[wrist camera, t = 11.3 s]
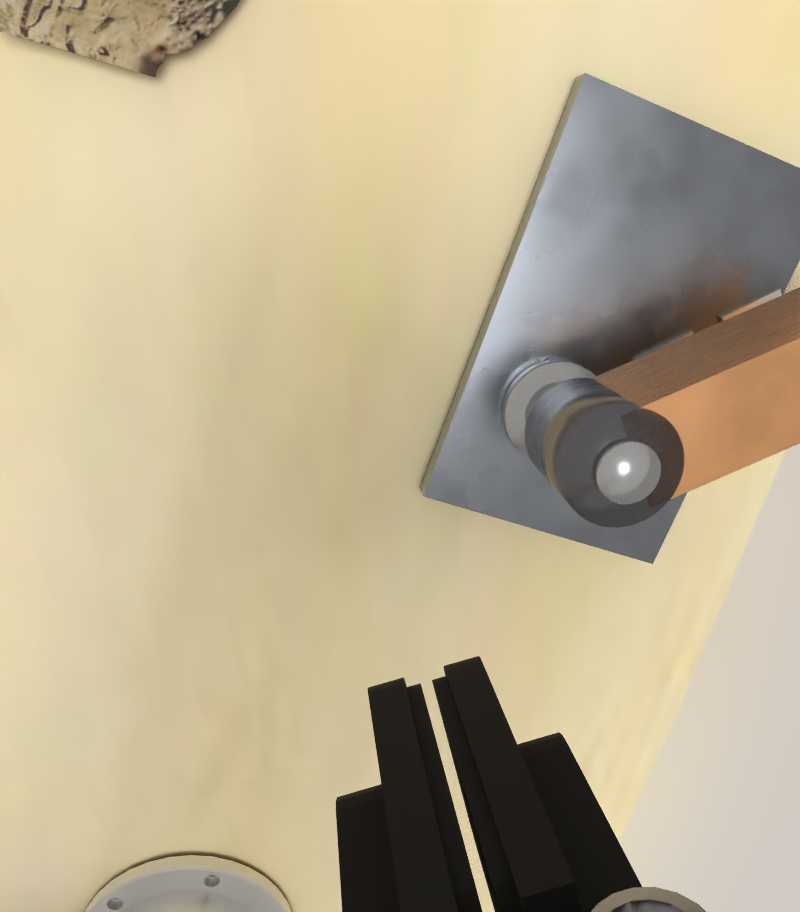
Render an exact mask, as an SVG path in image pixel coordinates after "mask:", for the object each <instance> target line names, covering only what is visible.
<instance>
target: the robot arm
mask: <svg viewBox="0 0 800 912" xmlns="http://www.w3.org/2000/svg"><path fill="white" fill-rule="evenodd" d="M444 671H445V675H446V676H445V677H441V678H438V679H434V680H432V682H433V686H434V689H435V693H436V697H437V701H438V704H439V708H440V712H441V716H442V720H443V723H444V727H445V731H446V735H447V738H448V742H449V746H450V750H451V753H452V757H453V761H454V765H455V769H456V772H457V776H458V780H459V784H460V787H461V791H462V795H463V799H464V802H465V806H466V810H467V814H468V818H469V821H470V825H471V829H472V832H473V836H474V840H475V843H476V847H477V850H478V854H479V857H480V861H481V864H482V868H483V871H484V875H485V878H486V882H487V885H488V889H489V892H490V896H491V899H492V903H493V906H494V910H495V912H706V911H705V910H704V909H703V908H702V907H701V906H700V905H698V904H697V903H695V902H693V901H692V900H690V899H688V898H686V897H684V896H682V895H680V894H679V893H676V892H672V891H669V890H664V889H660V888H656V887H642V886H641V884H640V882H639V880H638V878H637V876H636V874H635V872H634V870H633V869H632V867H631V865H630V863H629V861H628V859H627V857H626V855H625V853H624V852H623V849H622V848H621V846H620V844H619V842H618V840H617V838H616V836H615V834H614V832H613V830H612V828H611V826H610V824H609V823H608V821H607V819H606V817H605V815H604V813H603V811H602V809H601V807H600V805H599V803H598V801H597V800H596V798H595V796H594V794H593V792H592V790H591V788H590V786H589V784H588V782H587V780H586V778H585V777H584V775H583V773H582V771H581V769H580V767H579V765H578V763H577V761H576V759H575V757H574V755H573V754H572V752H571V750H570V748H569V746H568V744H567V742H566V740H565V739H564V737H563V735H562V734H560V733H555V734H552V735H548V736H545V737H542V738H538V739H535V740H531V741H528V742H525V743H521V744H518V745H517V743H516V741H515V738H514V736H513V734H512V731H511V729H510V727H509V724H508V722H507V720H506V717H505V715H504V712H503V710H502V708H501V705H500V703H499V701H498V698H497V696H496V694H495V691H494V689H493V686H492V684H491V682H490V679H489V677H488V675H487V672H486V670H485V668H484V665H483V663H482V660H481V658H480V657H479V656H477V657H474V658H470V659H467V660H463V661H460V662H456V663H453V664H449V665H446V666H444ZM368 695H369V702H370V709H371V716H372V722H373V729H374V736H375V743H376V749H377V756H378V763H379V770H380V776H381V783H382V784H381V785H378V786H374V787H371V788H367V789H364V790H361V791H357V792H354V793H350V794H347V795H344V796H340V797H337V800H336V817H337V833H338V849H339V865H340V881H341V897H342V912H482V909H481V905H480V901H479V898H478V894H477V890H476V886H475V883H474V879H473V875H472V872H471V868H470V864H469V860H468V857H467V853H466V849H465V845H464V842H463V838H462V834H461V831H460V827H459V823H458V820H457V816H456V812H455V809H454V805H453V801H452V798H451V794H450V790H449V786H448V783H447V779H446V775H445V772H444V768H443V764H442V761H441V757H440V753H439V750H438V746H437V742H436V739H435V735H434V731H433V728H432V724H431V720H430V716H429V713H428V709H427V705H426V702H425V698H424V694H423V691H422V687H421V684H417V685H414V686H410V687H406V683H405V680H404V678H400V679H397V680H393V681H390V682H386V683H383V684H379V685H376V686H372V687H369V688H368ZM85 912H291V909H290V906H289V904H288V902H287V900H286V899H285V897H284V896H283V894H282V893H281V892H280V890H279V889H278V888H277V887H276V886H275V885H274V884H273V883H272V882H271V881H269V880H268V879H267V878H266V877H265V876H263V875H261V874H260V873H258V872H256V871H255V870H253V869H252V868H249V867H247V866H244V865H242V864H239V863H237V862H234V861H231V860H226V859H222V858H217V857H213V856H198V855H186V856H175V857H167V858H163V859H159V860H154V861H150V862H147V863H145V864H142V865H140V866H137V867H135V868H132V869H130V870H128V871H126V872H125V873H123V874H121V875H120V876H118V877H116V878H115V879H113V880H112V881H111V882H109V883H108V884H107V885H106V886H105V887H104V888H103V889H102V890H100V891H99V892H98V893H97V895H96V896H95V897H94V899H93V900H92V901H91V903H90V904H89V905H88V907H87V909H86V911H85Z"/></svg>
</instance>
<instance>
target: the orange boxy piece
mask: <svg viewBox="0 0 800 912" xmlns="http://www.w3.org/2000/svg"><path fill="white" fill-rule="evenodd" d="M799 443H800V288H797V289H795V290H793V291H791V292H788V293H786V294H784V295H781V296H779V297H777V298H775V299H772V300H770V301H768V302H765V303H763V304H761V305H759V306H756V307H754V308H752V309H749V310H747V311H745V312H743V313H740V314H738V315H736V316H733V317H731V318H729V319H727V320H724V321H722V322H720V323H717V324H715V325H713V326H711V327H708V328H706V329H704V330H701V331H699V332H697V333H695V334H692V335H690V336H688V337H685V338H683V339H681V340H679V341H676V342H674V343H672V344H669V345H667V346H665V347H663V348H660V349H658V350H656V351H653V352H651V353H649V354H647V355H644V356H642V357H640V358H637V359H635V360H633V361H631V362H628V363H626V364H624V365H621V366H619V367H617V368H615V369H612V370H610V371H608V372H605V373H603V374H601V375H599V376H596V377H594V378H574V379H569V380H566V381H563V382H561V383H559V384H557V385H555V386H553V387H552V388H550V389H549V390H547V391H546V392H545V393H544V394H543V395H542V396H541V397H540V398H539V399H538V400H537V402H536V403H535V405H534V406H533V408H532V409H531V411H530V413H529V416H528V418H527V422H526V426H525V446H526V450H527V453H528V455H529V458H530V460H531V461H532V463H533V464H534V466H535V467H536V468H537V469H538V470H539V471H540V472H541V473H542V475H543V476H544V477H545V478H546V479H547V480H548V481H549V482H550V484H551V485H552V486H553V487H554V488H555V489H556V490H557V491H558V493H559V494H560V495H561V496H562V497H563V498H564V499H565V500H566V502H567V503H568V504H569V505H570V506H571V507H572V508H573V510H574V511H575V512H576V513H577V514H578V515H580V516H581V517H582V518H584V519H585V520H587V521H589V522H591V523H593V524H596V525H599V526H603V527H614V528H618V527H626V526H630V525H634V524H637V523H640V522H642V521H644V520H646V519H648V518H650V517H651V516H653V515H654V514H656V513H657V512H658V511H659V510H660V509H662V508H663V507H664V506H665V505H666V504H667V503H668V501H669V500H670V499H672V498H675V497H677V496H679V495H681V494H684V493H686V492H688V491H691V490H693V489H695V488H698V487H700V486H702V485H705V484H707V483H709V482H711V481H714V480H716V479H718V478H721V477H723V476H725V475H728V474H730V473H732V472H735V471H737V470H739V469H741V468H744V467H746V466H748V465H751V464H753V463H755V462H758V461H760V460H762V459H764V458H767V457H769V456H771V455H774V454H776V453H778V452H781V451H783V450H785V449H788V448H790V447H792V446H794V445H797V444H799Z"/></svg>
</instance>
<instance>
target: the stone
mask: <svg viewBox="0 0 800 912" xmlns="http://www.w3.org/2000/svg"><path fill="white" fill-rule="evenodd" d="M238 2H239V0H0V32H2V33H6V34H10V35H14V36H17V37H21V38H24V39H28V40H31V41H35V42H38V43H42V44H45V45H49V46H52V47H56V48H59V49H63V50H66V51H69V52H73V53H76V54H79V55H83V56H86V57H89V58H93V59H96V60H99V61H103V62H106V63H109V64H112V65H116V66H119V67H122V68H126V69H129V70H132V71H136V72H139V73H142V74H146V75H149V76H152V77H155V76H156V71H157V69H158V68H159V66H160V65H161V64H162V63H163V59H164V55H165V54H179V53H181V52H183V51H186V50H188V49H191V48H192V47H193V46H194V45H195V44H196V43H197V42H199V41H201V40H203V39H205V38H207V37H209V35H210V33H211V32H212V31H213V30H214V29H215V28H216V27H217V26H218V25H219V24H220V22H221V21H222V20H223V19H224V18H225V17H227V16H228V14H229V13H230V12H231V11H232V10H233V9H234V8H235V7H236V6H237V4H238Z"/></svg>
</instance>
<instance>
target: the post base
mask: <svg viewBox="0 0 800 912" xmlns="http://www.w3.org/2000/svg"><path fill="white" fill-rule="evenodd" d="M799 260H800V168H798V167H796V166H793V165H791V164H789V163H787V162H784V161H782V160H780V159H778V158H775V157H773V156H771V155H769V154H766V153H764V152H762V151H760V150H757V149H755V148H753V147H751V146H748V145H746V144H744V143H742V142H739V141H737V140H735V139H733V138H730V137H728V136H726V135H724V134H721V133H719V132H717V131H715V130H712V129H710V128H708V127H706V126H703V125H701V124H699V123H697V122H694V121H692V120H690V119H688V118H685V117H683V116H681V115H679V114H676V113H674V112H672V111H670V110H667V109H665V108H663V107H661V106H658V105H656V104H654V103H652V102H649V101H647V100H645V99H642V98H640V97H638V96H636V95H633V94H631V93H629V92H627V91H624V90H622V89H620V88H618V87H615V86H613V85H611V84H609V83H606V82H604V81H602V80H600V79H597V78H595V77H593V76H591V75H588V74H586V73H585V74H583V75H581V76H579V77H577V78H576V79H575V82H574V85H573V87H572V90H571V93H570V95H569V98H568V100H567V103H566V106H565V108H564V111H563V114H562V116H561V119H560V121H559V124H558V127H557V129H556V132H555V135H554V137H553V140H552V142H551V145H550V148H549V150H548V153H547V155H546V158H545V161H544V163H543V166H542V169H541V171H540V174H539V176H538V179H537V182H536V184H535V187H534V190H533V192H532V195H531V197H530V200H529V203H528V205H527V208H526V211H525V213H524V216H523V218H522V221H521V224H520V226H519V229H518V232H517V234H516V237H515V239H514V242H513V245H512V247H511V250H510V253H509V255H508V258H507V260H506V263H505V266H504V268H503V271H502V274H501V276H500V279H499V281H498V284H497V287H496V289H495V292H494V295H493V297H492V300H491V302H490V305H489V308H488V310H487V313H486V315H485V318H484V321H483V323H482V326H481V329H480V331H479V334H478V336H477V339H476V342H475V344H474V347H473V350H472V352H471V355H470V357H469V360H468V363H467V365H466V368H465V371H464V373H463V376H462V378H461V381H460V384H459V386H458V389H457V392H456V394H455V397H454V399H453V402H452V405H451V407H450V410H449V413H448V415H447V418H446V420H445V423H444V426H443V428H442V431H441V434H440V436H439V439H438V441H437V444H436V447H435V449H434V452H433V455H432V457H431V460H430V462H429V465H428V468H427V470H426V473H425V475H424V478H423V481H422V483H421V486H420V489H421V491H422V494H423V496H425V497H428V498H432V499H435V500H438V501H442V502H445V503H449V504H452V505H455V506H459V507H462V508H465V509H469V510H472V511H476V512H479V513H482V514H486V515H489V516H493V517H496V518H499V519H503V520H506V521H509V522H513V523H516V524H520V525H523V526H526V527H530V528H533V529H537V530H540V531H543V532H547V533H550V534H553V535H557V536H560V537H564V538H567V539H570V540H574V541H577V542H580V543H584V544H587V545H591V546H594V547H597V548H601V549H604V550H608V551H611V552H614V553H618V554H621V555H624V556H628V557H631V558H635V559H638V560H641V561H645V562H648V563H651V564H653V562H654V560H655V558H656V556H657V554H658V552H659V550H660V548H661V546H662V544H663V541H664V539H665V537H666V535H667V533H668V531H669V529H670V527H671V525H672V523H673V521H674V519H675V517H676V515H677V512H678V510H679V508H680V506H681V504H682V502H683V500H684V498H685V496H686V494H687V492H686V493H684V494H681V495H679V496H677V497H675V498H672V499H670V500H669V501H668V503H667V504H666V505H665V506H664V507H663V508H662V509H660V510H659V511H658V512H657V513H656V514H654V515H653V516H651V517H650V518H648V519H646V520H644V521H642V522H640V523H637V524H634V525H630V526H626V527H618V528H614V527H603V526H599V525H596V524H593V523H591V522H589V521H587V520H585V519H584V518H582V517H581V516H580V515H578V514H577V513H576V512H575V511H574V510H573V508H572V507H571V506H570V505H569V504H568V503H567V502H566V500H565V499H564V498H563V497H562V496H561V495H560V494H559V493H558V491H557V490H556V489H555V488H554V487H553V486H552V485H551V484H550V482H549V481H548V480H547V479H546V478H545V477H544V476H543V475H542V473H541V472H540V471H539V470H538V469H537V468H536V467H535V466H534V464H533V463H532V461H531V460H530V458H529V455H528V453H527V450H526V446H525V426H526V422H527V418H528V416H529V413H530V411H531V409H532V408H533V406H534V405H535V403H536V402H537V400H538V399H539V398H540V397H541V396H542V395H543V394H544V393H545V392H546V391H547V390H549V389H550V388H552V387H553V386H555V385H557V384H559V383H561V382H563V381H566V380H569V379H574V378H594V377H596V376H599V375H601V374H603V373H605V372H608V371H610V370H612V369H615V368H617V367H619V366H621V365H624V364H626V363H628V362H631V361H633V360H635V359H637V358H640V357H642V356H644V355H647V354H649V353H651V352H653V351H656V350H658V349H660V348H663V347H665V346H667V345H669V344H672V343H674V342H676V341H679V340H681V339H683V338H685V337H688V336H690V335H692V334H695V333H697V332H699V331H701V330H704V329H706V328H708V327H711V326H713V325H715V324H717V323H720V322H722V321H724V320H727V319H729V318H731V317H733V316H736V315H738V314H740V313H743V312H745V311H747V310H749V309H752V308H754V307H756V306H759V305H761V304H763V303H765V302H768V301H770V300H772V299H775V298H777V297H779V296H781V295H783V293H784V291H785V289H786V287H787V285H788V283H789V281H790V279H791V276H792V274H793V272H794V270H795V268H796V266H797V264H798V262H799Z"/></svg>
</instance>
